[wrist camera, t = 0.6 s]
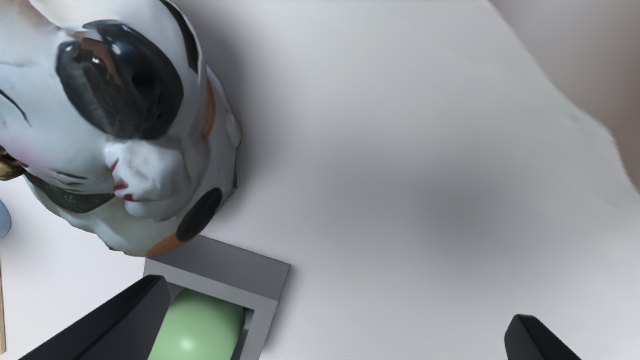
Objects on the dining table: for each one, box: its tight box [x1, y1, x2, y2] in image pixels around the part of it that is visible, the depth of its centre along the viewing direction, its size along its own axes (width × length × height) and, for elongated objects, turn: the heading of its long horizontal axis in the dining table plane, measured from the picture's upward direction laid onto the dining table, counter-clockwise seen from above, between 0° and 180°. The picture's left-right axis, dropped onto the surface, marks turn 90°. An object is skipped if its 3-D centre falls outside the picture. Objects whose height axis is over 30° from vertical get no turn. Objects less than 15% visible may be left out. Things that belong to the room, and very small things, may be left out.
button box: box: [143, 235, 290, 360], centre depth 25 cm, size 9×9×4 cm
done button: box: [148, 288, 245, 360], centre depth 22 cm, size 5×5×4 cm
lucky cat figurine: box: [0, 0, 242, 257], centre depth 16 cm, size 15×12×14 cm
